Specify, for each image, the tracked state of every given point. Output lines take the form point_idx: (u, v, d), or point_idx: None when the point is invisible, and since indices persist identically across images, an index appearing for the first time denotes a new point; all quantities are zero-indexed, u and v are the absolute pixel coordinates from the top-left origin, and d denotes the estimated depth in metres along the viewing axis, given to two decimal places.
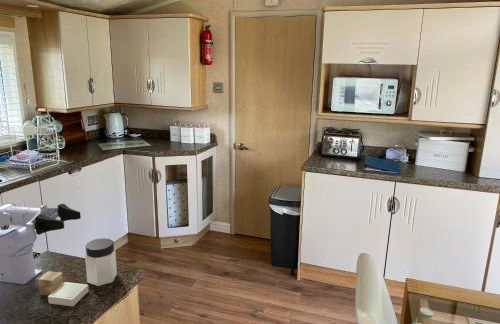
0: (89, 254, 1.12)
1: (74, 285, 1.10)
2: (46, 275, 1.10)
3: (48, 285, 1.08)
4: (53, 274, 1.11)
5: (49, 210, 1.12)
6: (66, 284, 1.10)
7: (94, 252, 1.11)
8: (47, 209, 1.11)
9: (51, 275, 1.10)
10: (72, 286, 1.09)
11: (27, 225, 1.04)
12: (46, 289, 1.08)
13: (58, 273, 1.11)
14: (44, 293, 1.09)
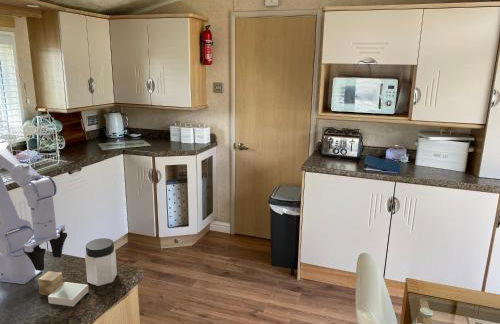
0: (89, 254, 1.12)
1: (74, 285, 1.10)
2: (46, 275, 1.10)
3: (48, 285, 1.08)
4: (53, 274, 1.11)
5: None
6: (66, 284, 1.10)
7: (94, 252, 1.11)
8: None
9: (51, 275, 1.10)
10: (72, 286, 1.09)
11: (29, 248, 1.00)
12: (46, 289, 1.08)
13: (58, 273, 1.11)
14: (44, 293, 1.09)
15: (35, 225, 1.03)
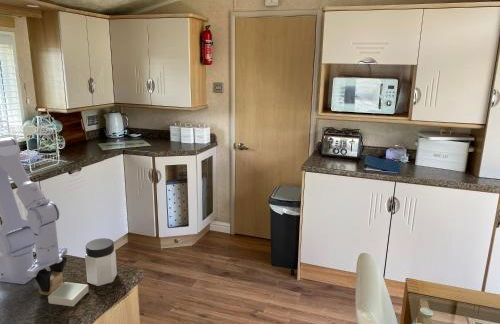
0: (89, 254, 1.12)
1: (74, 285, 1.10)
2: None
3: None
4: (53, 273, 1.11)
5: None
6: (66, 284, 1.10)
7: (94, 252, 1.11)
8: None
9: (51, 275, 1.10)
10: (72, 286, 1.09)
11: (32, 273, 1.02)
12: None
13: (58, 273, 1.11)
14: (44, 293, 1.09)
15: (38, 250, 1.05)
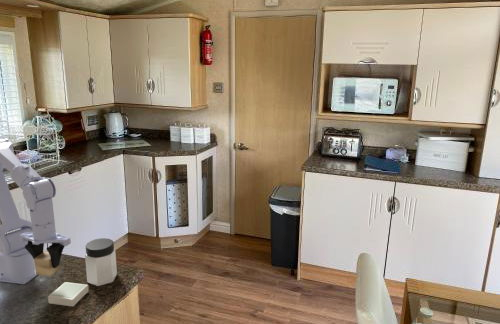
0: (89, 254, 1.12)
1: (74, 285, 1.10)
2: None
3: None
4: (49, 256, 1.06)
5: None
6: (66, 284, 1.10)
7: (94, 252, 1.11)
8: None
9: (46, 256, 1.07)
10: (72, 286, 1.09)
11: None
12: None
13: (48, 258, 1.05)
14: None
15: None
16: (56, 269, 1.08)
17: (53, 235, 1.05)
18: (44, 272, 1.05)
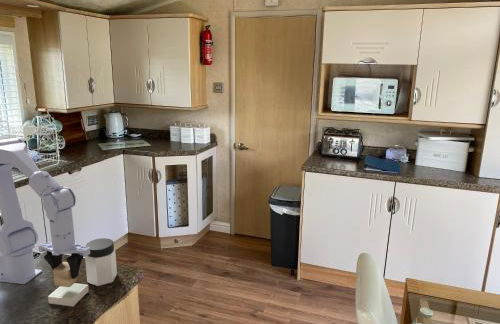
0: (89, 254, 1.12)
1: (74, 285, 1.10)
2: (68, 264, 1.07)
3: None
4: (68, 267, 1.05)
5: None
6: None
7: (94, 252, 1.11)
8: None
9: (65, 266, 1.05)
10: (72, 286, 1.09)
11: None
12: None
13: (67, 269, 1.04)
14: None
15: None
16: (75, 280, 1.07)
17: (72, 245, 1.04)
18: (63, 283, 1.04)
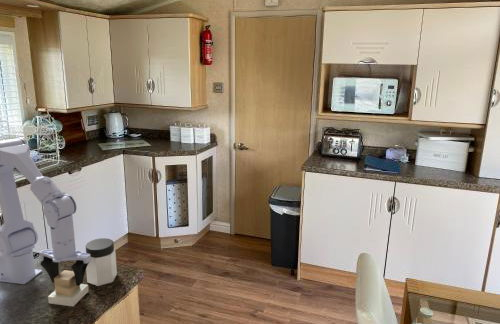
0: None
1: None
2: (69, 272, 1.07)
3: None
4: (69, 275, 1.06)
5: None
6: None
7: (94, 252, 1.11)
8: None
9: (66, 275, 1.06)
10: None
11: None
12: None
13: (68, 278, 1.04)
14: None
15: None
16: (76, 288, 1.07)
17: (73, 252, 1.04)
18: (64, 292, 1.05)
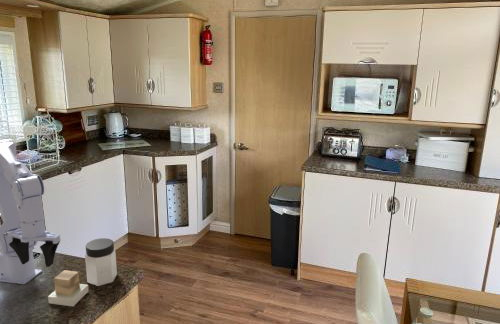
0: (89, 254, 1.12)
1: None
2: (69, 272, 1.07)
3: None
4: (69, 275, 1.06)
5: None
6: None
7: (94, 252, 1.11)
8: None
9: (66, 275, 1.06)
10: None
11: None
12: None
13: (68, 278, 1.04)
14: None
15: None
16: (76, 288, 1.07)
17: (42, 233, 1.03)
18: (64, 292, 1.05)
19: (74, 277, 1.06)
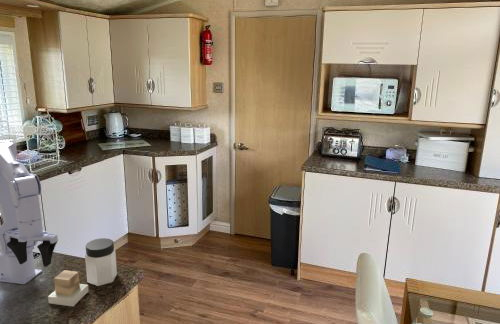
0: (89, 254, 1.12)
1: None
2: (69, 272, 1.07)
3: None
4: (69, 275, 1.06)
5: None
6: None
7: (94, 252, 1.11)
8: None
9: (66, 275, 1.06)
10: None
11: None
12: None
13: (68, 278, 1.04)
14: None
15: None
16: (76, 288, 1.07)
17: (40, 232, 1.03)
18: (64, 292, 1.05)
19: (74, 277, 1.06)
